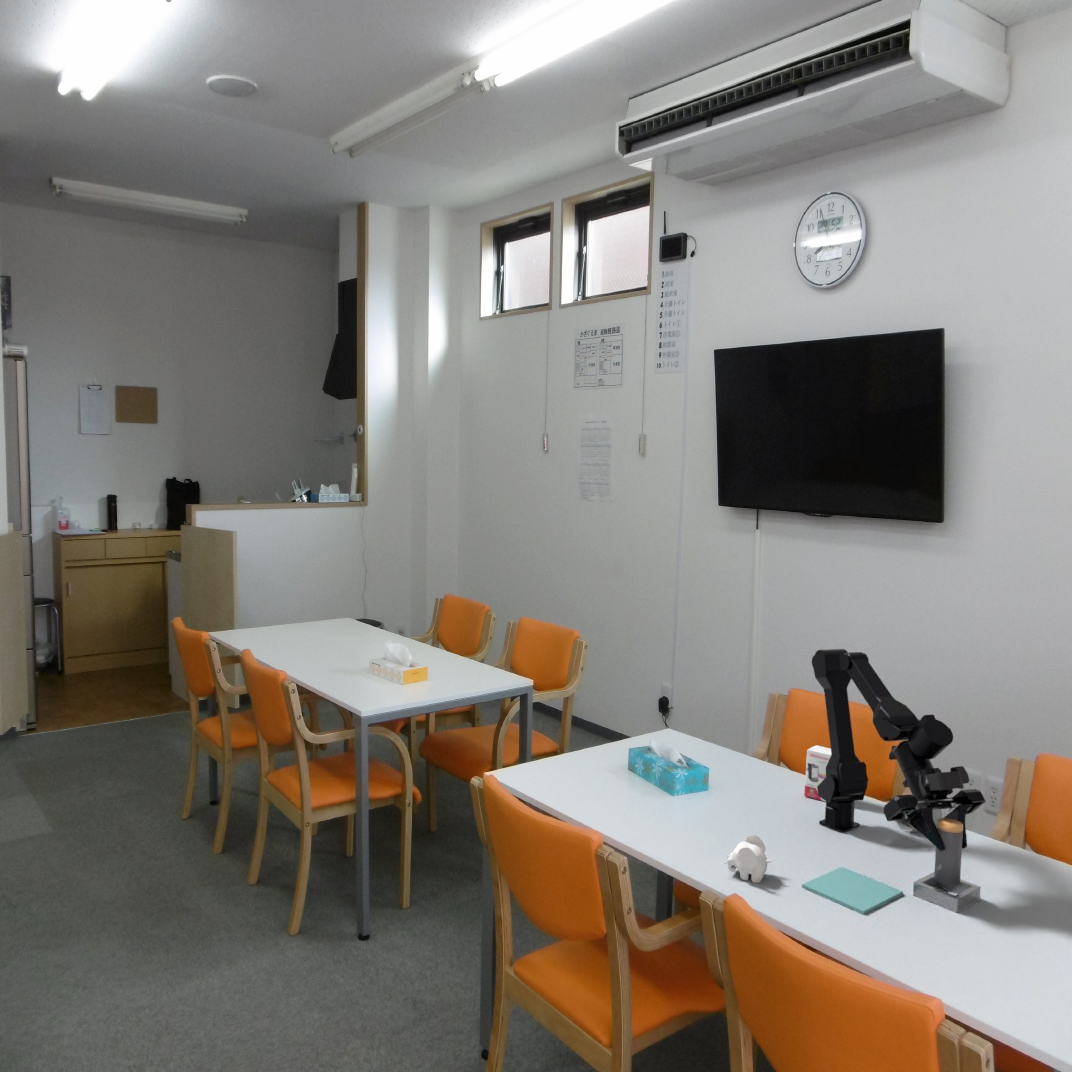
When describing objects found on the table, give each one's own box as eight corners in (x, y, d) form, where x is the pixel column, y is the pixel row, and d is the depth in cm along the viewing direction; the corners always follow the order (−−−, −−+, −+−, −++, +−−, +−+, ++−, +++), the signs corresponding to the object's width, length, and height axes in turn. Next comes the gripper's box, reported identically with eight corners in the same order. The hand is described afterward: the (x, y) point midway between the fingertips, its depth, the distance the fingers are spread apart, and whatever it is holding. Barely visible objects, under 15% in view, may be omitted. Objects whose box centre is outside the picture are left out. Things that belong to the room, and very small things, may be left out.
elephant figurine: (726, 863, 182) (728, 828, 182) (775, 873, 178) (776, 837, 178) (717, 878, 175) (718, 842, 175) (767, 889, 171) (769, 852, 171)
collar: (936, 883, 175) (936, 870, 174) (979, 899, 168) (980, 886, 168) (913, 895, 170) (913, 882, 169) (956, 912, 163) (957, 899, 163)
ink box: (803, 796, 220) (805, 749, 219) (811, 791, 224) (813, 744, 223) (838, 805, 215) (840, 757, 214) (846, 800, 218) (848, 752, 218)
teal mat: (841, 869, 180) (841, 866, 180) (902, 894, 170) (902, 891, 170) (801, 887, 172) (802, 884, 172) (863, 914, 162) (863, 911, 162)
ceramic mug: (943, 833, 199) (945, 800, 199) (915, 837, 197) (916, 804, 196) (909, 816, 209) (911, 785, 208) (882, 820, 206) (883, 789, 206)
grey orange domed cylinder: (941, 872, 172) (944, 816, 171) (964, 881, 168) (967, 823, 167) (929, 879, 169) (932, 821, 168) (952, 887, 165) (955, 829, 165)
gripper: (895, 754, 168) (932, 835, 158) (981, 748, 173) (1022, 827, 163) (868, 780, 177) (901, 859, 167) (951, 774, 181) (987, 851, 171)
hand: (954, 848), depth 167 cm, fingers closed on grey orange domed cylinder, 4 cm apart
